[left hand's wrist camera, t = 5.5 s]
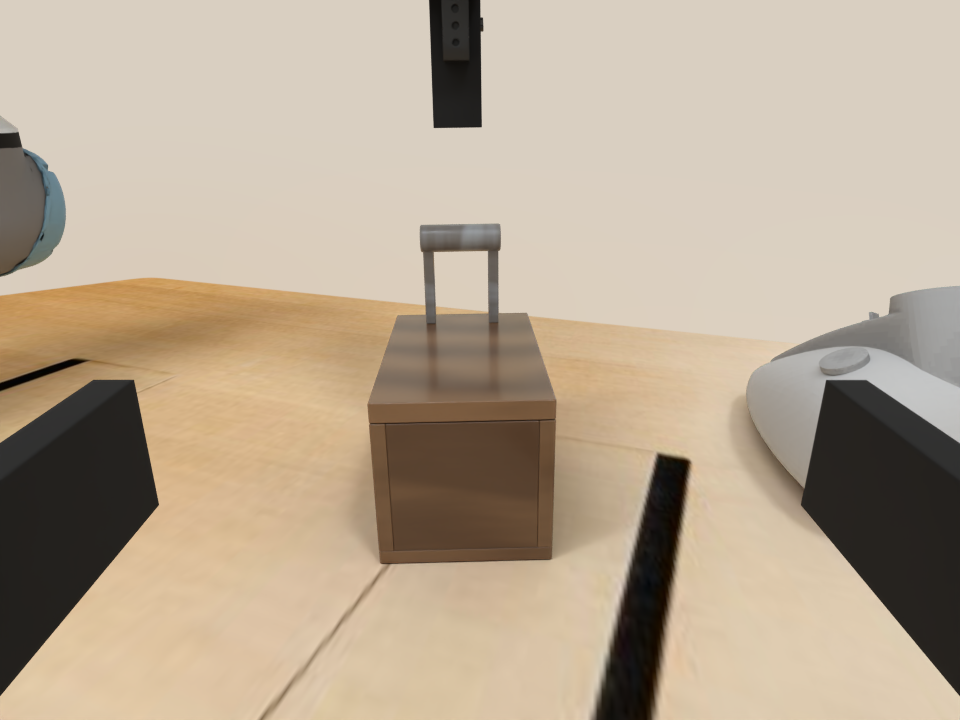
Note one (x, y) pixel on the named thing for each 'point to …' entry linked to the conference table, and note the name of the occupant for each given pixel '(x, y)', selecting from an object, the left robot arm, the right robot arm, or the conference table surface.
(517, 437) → the chest
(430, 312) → the lid
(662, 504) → the conference table surface
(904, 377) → the projector
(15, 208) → the right robot arm
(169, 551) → the conference table surface
